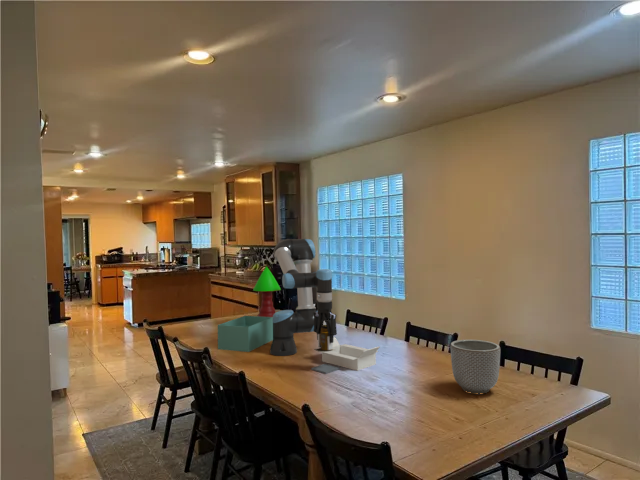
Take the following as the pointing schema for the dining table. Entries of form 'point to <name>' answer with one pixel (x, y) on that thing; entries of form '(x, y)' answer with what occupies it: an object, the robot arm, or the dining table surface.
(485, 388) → the planter
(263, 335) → the box
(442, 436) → the dining table surface
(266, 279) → the table lamp
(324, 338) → the condiment
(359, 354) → the carton
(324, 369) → the coaster
